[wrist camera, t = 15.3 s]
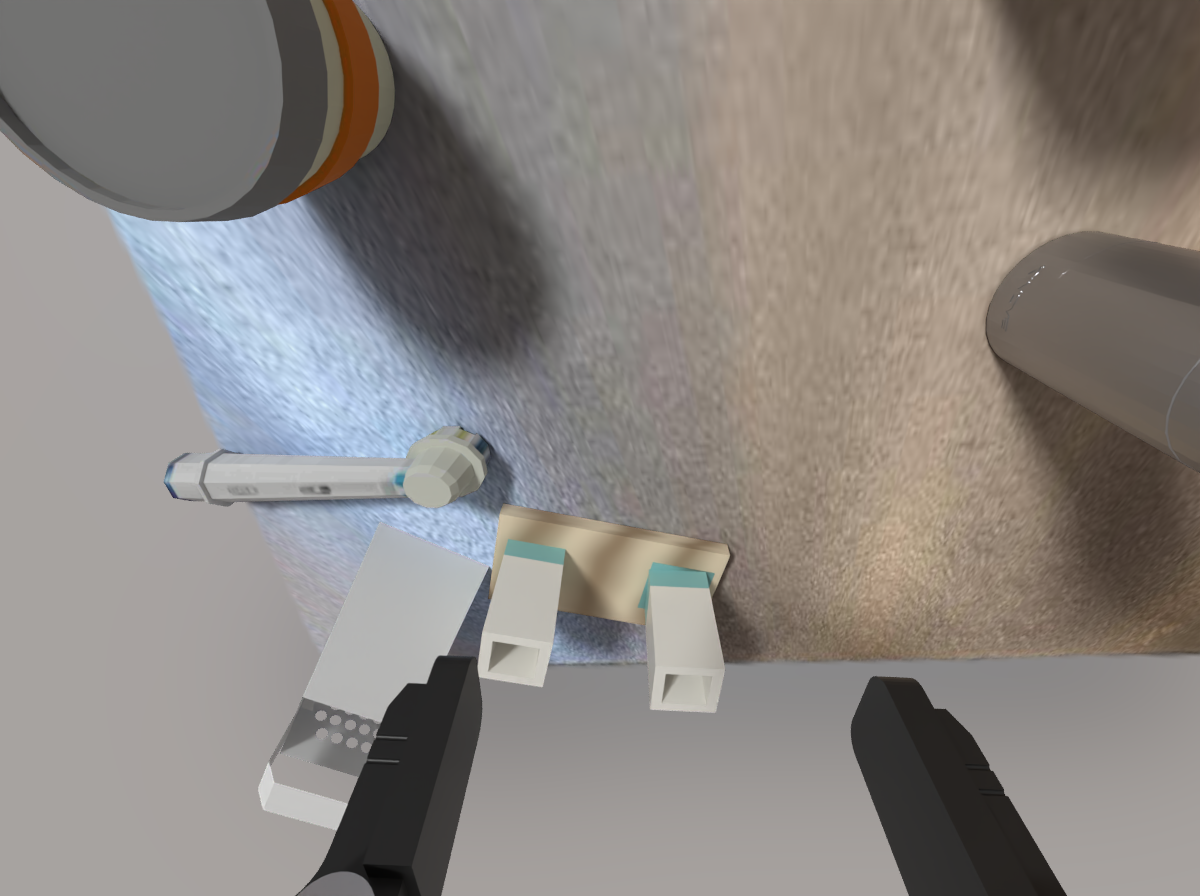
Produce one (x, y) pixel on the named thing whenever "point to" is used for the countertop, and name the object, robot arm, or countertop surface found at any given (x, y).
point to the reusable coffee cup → (193, 99)
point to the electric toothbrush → (336, 474)
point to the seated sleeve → (522, 615)
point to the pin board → (606, 559)
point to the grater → (374, 658)
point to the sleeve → (682, 642)
